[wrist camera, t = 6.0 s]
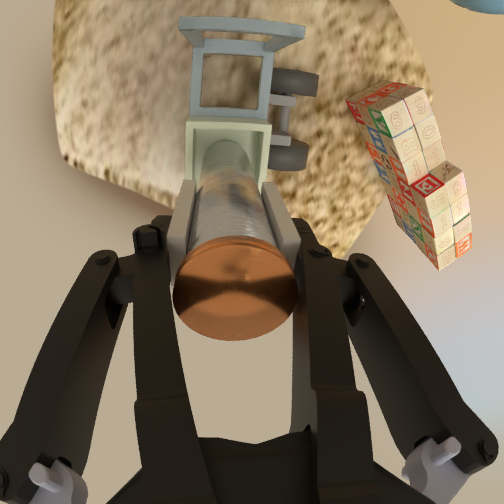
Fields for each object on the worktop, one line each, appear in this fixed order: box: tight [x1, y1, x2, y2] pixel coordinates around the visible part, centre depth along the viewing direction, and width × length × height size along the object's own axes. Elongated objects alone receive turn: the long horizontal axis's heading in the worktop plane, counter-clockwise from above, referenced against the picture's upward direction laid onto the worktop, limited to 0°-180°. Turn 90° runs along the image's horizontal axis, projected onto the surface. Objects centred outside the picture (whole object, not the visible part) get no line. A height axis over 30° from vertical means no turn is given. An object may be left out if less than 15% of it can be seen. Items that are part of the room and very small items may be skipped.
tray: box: [185, 116, 272, 195], centre depth 24 cm, size 8×7×3 cm
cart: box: [178, 16, 319, 171], centre depth 23 cm, size 15×12×17 cm
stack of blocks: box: [346, 81, 472, 271], centre depth 30 cm, size 21×6×12 cm, turn 33°
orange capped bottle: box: [173, 141, 298, 341], centre depth 17 cm, size 5×5×17 cm
